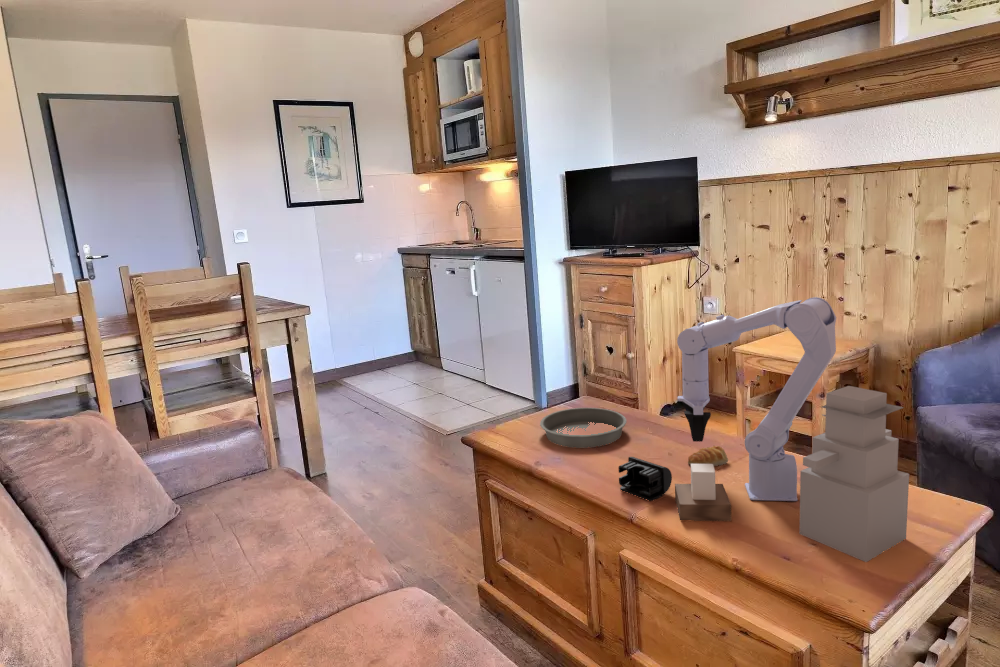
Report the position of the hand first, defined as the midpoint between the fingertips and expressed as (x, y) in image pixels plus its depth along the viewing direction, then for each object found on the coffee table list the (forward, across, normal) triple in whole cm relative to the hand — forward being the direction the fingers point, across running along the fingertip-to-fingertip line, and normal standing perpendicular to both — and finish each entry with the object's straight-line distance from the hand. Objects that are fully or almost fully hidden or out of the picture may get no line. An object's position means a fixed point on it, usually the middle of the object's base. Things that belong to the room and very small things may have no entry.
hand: (696, 435), depth 151 cm
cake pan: (+11, -29, -29) cm, 42 cm away
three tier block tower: (+11, +26, +26) cm, 38 cm away
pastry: (+11, -9, +4) cm, 15 cm away
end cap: (+11, +8, -12) cm, 18 cm away
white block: (+7, +17, 0) cm, 19 cm away
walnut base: (+11, +17, 0) cm, 20 cm away
